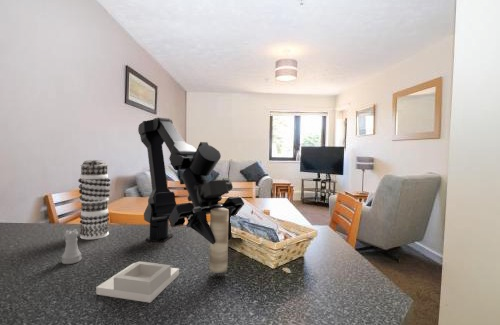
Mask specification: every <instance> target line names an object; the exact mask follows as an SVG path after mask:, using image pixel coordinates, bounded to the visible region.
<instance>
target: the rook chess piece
mask: <svg viewBox="0 0 500 325" xmlns="http://www.w3.org/2000/svg"><path fill="white" fill-rule="evenodd" d="M64 232H65V233H64V234H63V236H64V238H65V241H64V242H65V249H64V252H63V254H62V255H61V261H60V262H61V263H62V264H63V265H73V264H76V263H78V262H80V261H81V260H82V258H83V257H82V252H80V249H79V247H78V240H79V239H78V235H79V234H80V232H78V229H76V228H73V230H72V229H69V230H68V229H67V230H65V231H64Z"/></svg>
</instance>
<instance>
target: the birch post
mask: <svg viewBox="0 0 500 325" xmlns="http://www.w3.org/2000/svg"><path fill="white" fill-rule="evenodd" d="M209 215H210V216H209V217H210V220H209V222H210V223H209V226H210V228H211V230H212V233H213V235H214V238H215V241H216V242H215V244H211V243H210V242H209V269H208V270H209V271H210V272H211V273H214V274H215V273H216V274H221V273H224V272H227V271H228V260H229V259H228V258H229V255H228V252H229V251H228V250H229V240H228V217H229V210H228V209H225V208H214V209H211V210H210V214H209Z"/></svg>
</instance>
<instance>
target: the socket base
mask: <svg viewBox="0 0 500 325" xmlns="http://www.w3.org/2000/svg"><path fill="white" fill-rule="evenodd" d="M179 275H180V268H179V267H178V268H177V267H172V264H164V263H157V262H156V263H155V262H148V261H139V260H138V261H136V262H133V263H131V264H130V265H128V266H127V267H126V268H123V269H122V270H121V271H119V272H118V273H115V274H114V275H113V276H112V277H109V278H108V279H107V280H105V281H103V282H102V283H100V284H99V285H98V286H96V287H95V288H96V290H95V291H96V292H95V294H96V295H99V296H103V297H111V298H117V299H124V300H130V301H137V302H143V303H152V302H153V301H154V300H155V299H156V298H157V297H158V296H159V295H160V294H161V293H162V292H164V290H165V289H166V288H167V287H168V286H170V284H171V283H172V282H173V281H174V280H175V279H177V277H179Z"/></svg>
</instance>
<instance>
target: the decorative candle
mask: <svg viewBox="0 0 500 325" xmlns="http://www.w3.org/2000/svg"><path fill="white" fill-rule="evenodd" d="M80 166H81V167H80V172H81V173H80V178H79V179H78V183H80V184H79V185H78V188H79V190H78V193H79V194H80V196H78V198H79V202H80V203H81V210H80V215H79V219H80V221H79V223H80V226H79V229H80V231H79V234H80V236H79V238H81V239H82V240H97V239H103V238H105V237H108V236H109V234H110V233H109V231H110V227H109V226H110V223H109V222H108V221H110V218H109V216H110V213H109V208H108V201H109V200H110V198H109V197H110V194H109V192H110V191H111V189H110V188H109V189H108V187H110V186H111V183H109V182H111V179H110V178H109V173H108V164H107V163H106V162H105V160H99V159H96V160H95V159H93V160H92V159H89V160H88V159H87V160H84V161H83V162H82V164H80Z"/></svg>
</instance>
